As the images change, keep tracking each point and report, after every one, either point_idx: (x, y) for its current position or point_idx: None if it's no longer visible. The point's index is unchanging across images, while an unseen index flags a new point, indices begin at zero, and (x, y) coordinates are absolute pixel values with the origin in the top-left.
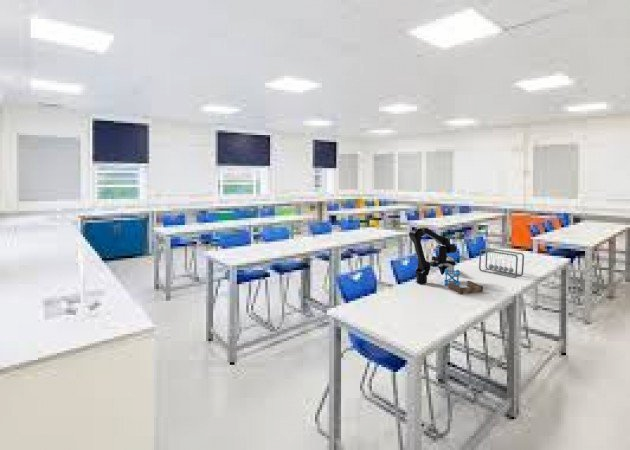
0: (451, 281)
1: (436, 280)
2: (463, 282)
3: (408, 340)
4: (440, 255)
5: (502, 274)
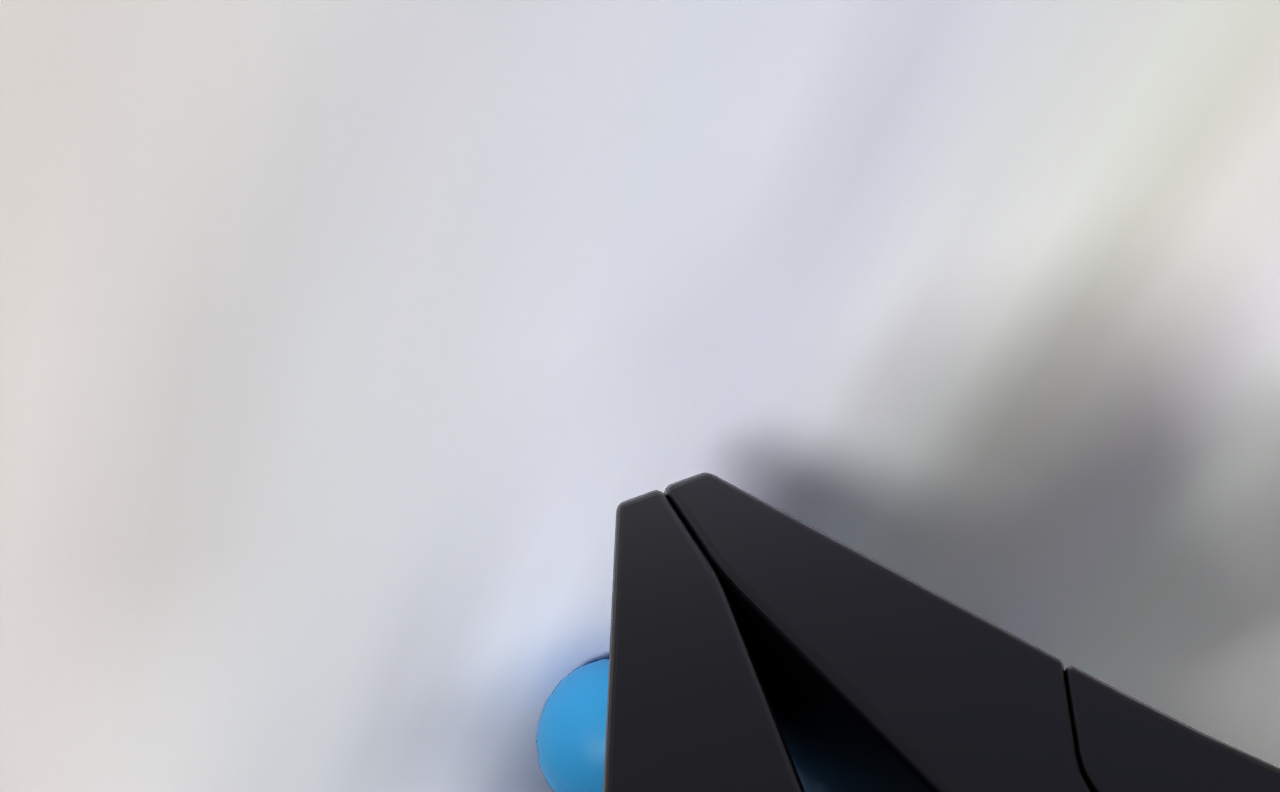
0: None
1: (197, 381)
2: (1183, 567)
3: None
4: None
5: None
